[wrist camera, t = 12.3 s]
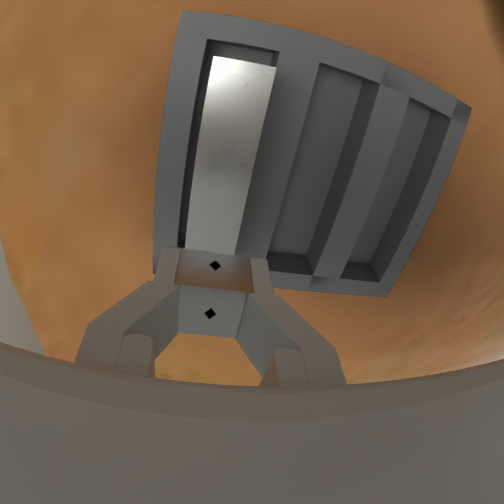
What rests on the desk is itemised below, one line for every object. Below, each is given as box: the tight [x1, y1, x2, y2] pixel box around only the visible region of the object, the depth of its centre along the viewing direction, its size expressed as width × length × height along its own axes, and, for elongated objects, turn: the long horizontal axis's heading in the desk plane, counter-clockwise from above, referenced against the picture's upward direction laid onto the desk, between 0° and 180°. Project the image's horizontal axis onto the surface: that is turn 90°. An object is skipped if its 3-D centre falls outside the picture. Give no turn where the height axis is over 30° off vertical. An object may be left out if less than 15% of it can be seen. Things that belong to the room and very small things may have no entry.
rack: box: [153, 11, 472, 297], centre depth 19 cm, size 19×17×4 cm
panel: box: [185, 56, 276, 255], centre depth 16 cm, size 2×12×7 cm, turn 168°
